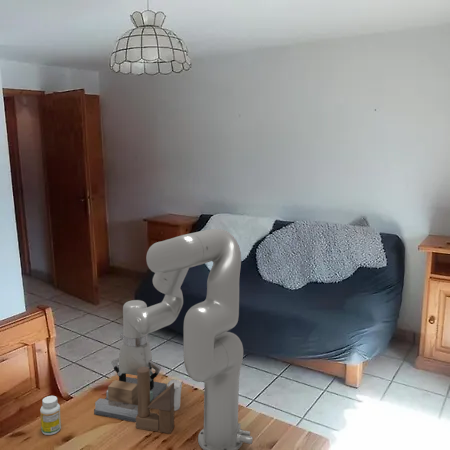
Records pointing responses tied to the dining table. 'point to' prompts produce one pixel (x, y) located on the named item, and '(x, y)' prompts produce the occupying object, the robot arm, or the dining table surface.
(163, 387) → the vise base
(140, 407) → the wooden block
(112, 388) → the walnut block
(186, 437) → the dining table surface
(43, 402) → the supplement bottle
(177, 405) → the milkshake
